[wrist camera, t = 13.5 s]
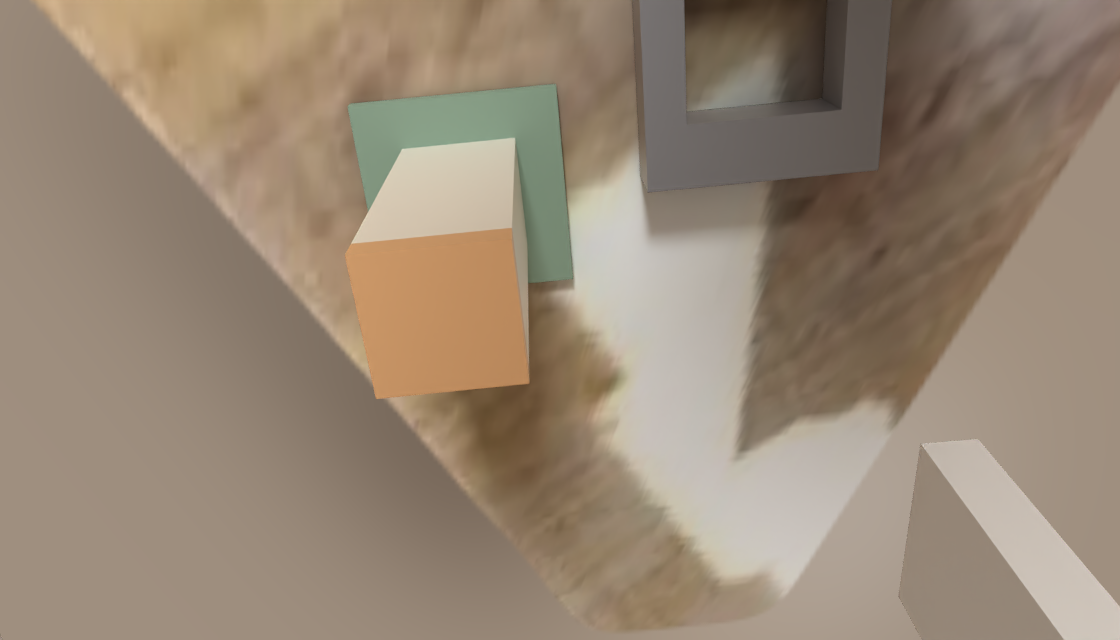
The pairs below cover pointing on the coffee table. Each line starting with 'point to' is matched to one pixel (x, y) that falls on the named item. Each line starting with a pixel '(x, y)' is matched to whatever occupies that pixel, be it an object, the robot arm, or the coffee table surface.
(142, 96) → the coffee table surface
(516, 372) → the plug
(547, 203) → the mat
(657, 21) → the grey square frame
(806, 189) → the coffee table surface
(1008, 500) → the robot arm
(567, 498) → the coffee table surface
